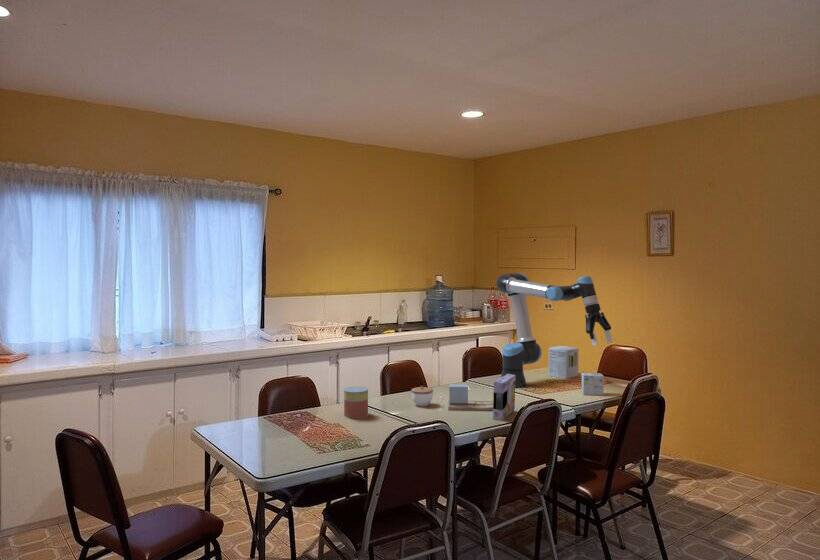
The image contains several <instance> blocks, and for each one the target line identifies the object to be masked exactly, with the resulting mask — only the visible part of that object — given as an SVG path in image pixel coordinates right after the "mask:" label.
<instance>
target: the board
mask: <svg viewBox="0 0 820 560" xmlns="http://www.w3.org/2000/svg"><path fill="white" fill-rule="evenodd" d="M447 405H448V407H447V409H448V411H468V410H493V400H468V405H449V400H448V402H447Z"/></svg>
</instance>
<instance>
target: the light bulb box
mask: <svg viewBox="0 0 820 560" xmlns="http://www.w3.org/2000/svg"><path fill="white" fill-rule="evenodd" d="M604 388H605V387H604V375H603V374H602V373H599V372H598V373H597V372H596V373H593V372H591V373H589V372H586V373H585V372H581V394H582V393H583V394H582V395H583V396H604V395H605V394H604V393H605V392H604Z"/></svg>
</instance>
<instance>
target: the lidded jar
mask: <svg viewBox="0 0 820 560" xmlns="http://www.w3.org/2000/svg"><path fill="white" fill-rule="evenodd" d="M410 390H411V398H412V399H411V400H412V402H413V403H414V404H415V405H416V406H417V407H427V406H429V404H430V403H431V402H432V400H433V397H434V396H433V395H434V394H433V392H434V389H433V388H431V387H429V386H427V387H426V386H425V387H424V386H423V385H420V386H419V387H418V386H417V387H414V388H411V389H410Z"/></svg>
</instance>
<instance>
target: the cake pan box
mask: <svg viewBox="0 0 820 560" xmlns="http://www.w3.org/2000/svg"><path fill="white" fill-rule="evenodd" d="M492 394H493V395H492V396H493V397H492V398H493V399H492V401H493V411H492V420H495V419H498V420H497V421H503V420H504V419H505V418H507V417H508V416H509V415H511V414H512V413H514V411H515V404H516V400H515V399H516V387H515V375H511V374H506V375H505V376H503V377H501V376H500V377H499V378H498V379H496V380H494V381H493V393H492ZM502 419H503V420H502Z"/></svg>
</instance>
